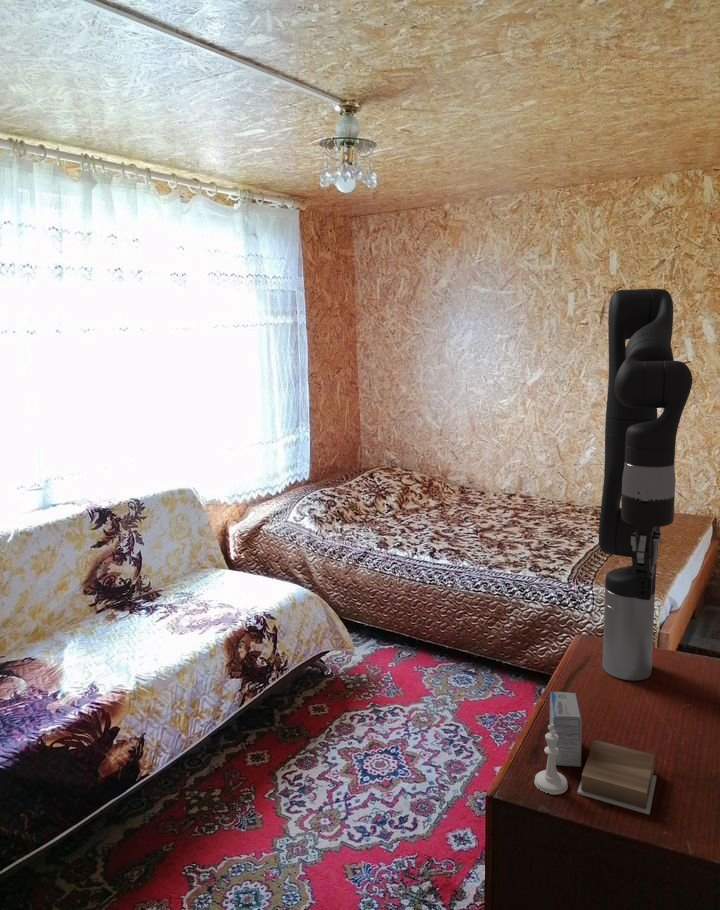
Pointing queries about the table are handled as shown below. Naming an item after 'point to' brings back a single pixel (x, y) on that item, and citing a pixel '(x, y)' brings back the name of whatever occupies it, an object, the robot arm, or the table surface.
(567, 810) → the table surface
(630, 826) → the table surface
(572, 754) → the medicine box
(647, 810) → the mat
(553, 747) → the chess piece
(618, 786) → the tile
